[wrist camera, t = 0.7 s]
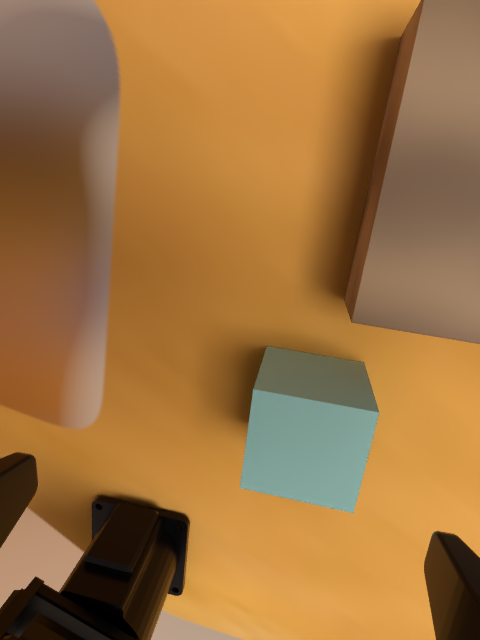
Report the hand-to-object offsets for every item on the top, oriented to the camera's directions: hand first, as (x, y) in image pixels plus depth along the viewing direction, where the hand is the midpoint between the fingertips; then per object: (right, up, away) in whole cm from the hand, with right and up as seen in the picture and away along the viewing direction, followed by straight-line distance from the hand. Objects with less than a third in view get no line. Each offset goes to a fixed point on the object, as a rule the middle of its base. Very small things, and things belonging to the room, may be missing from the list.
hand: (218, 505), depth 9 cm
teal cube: (+4, 0, +12) cm, 13 cm away
